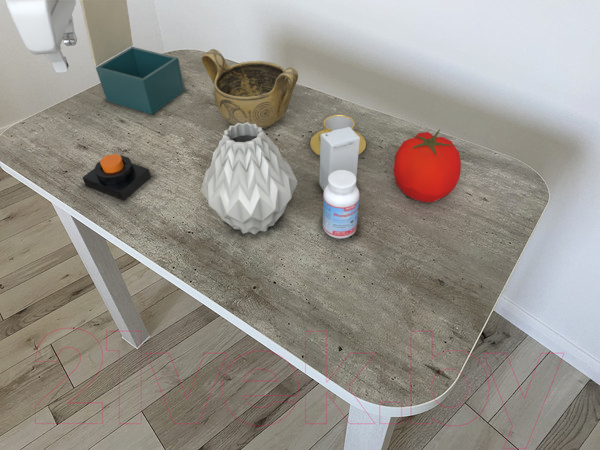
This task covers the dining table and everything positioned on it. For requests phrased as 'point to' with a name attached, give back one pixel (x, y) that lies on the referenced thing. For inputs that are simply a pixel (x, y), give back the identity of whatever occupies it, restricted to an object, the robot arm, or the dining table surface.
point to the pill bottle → (340, 204)
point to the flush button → (112, 163)
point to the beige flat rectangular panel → (106, 28)
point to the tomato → (427, 167)
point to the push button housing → (118, 179)
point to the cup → (334, 124)
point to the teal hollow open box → (141, 79)
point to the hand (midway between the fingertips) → (67, 56)
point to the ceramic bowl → (250, 89)
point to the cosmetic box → (338, 153)
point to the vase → (248, 179)
